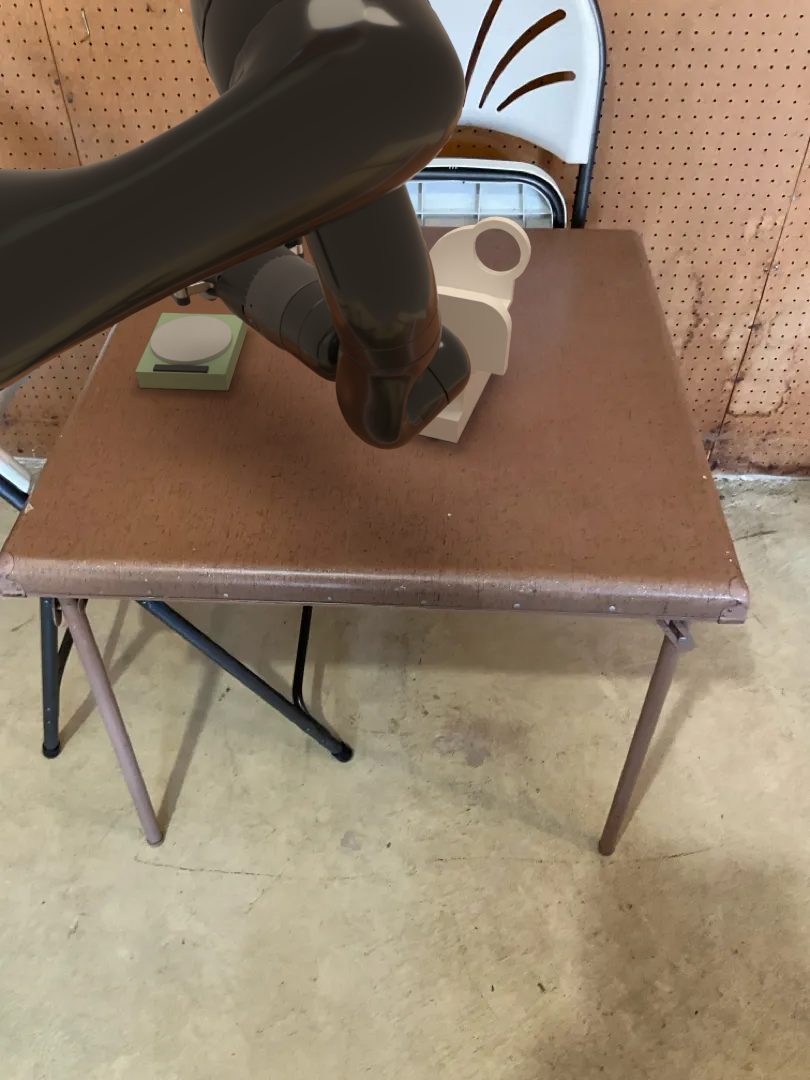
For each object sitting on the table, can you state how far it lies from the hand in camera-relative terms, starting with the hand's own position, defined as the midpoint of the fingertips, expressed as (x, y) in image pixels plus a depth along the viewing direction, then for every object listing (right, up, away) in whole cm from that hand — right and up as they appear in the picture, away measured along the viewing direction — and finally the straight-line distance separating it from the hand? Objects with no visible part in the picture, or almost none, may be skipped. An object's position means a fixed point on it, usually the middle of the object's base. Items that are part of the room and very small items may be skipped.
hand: (188, 230), depth 82 cm
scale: (-3, -9, +16) cm, 18 cm away
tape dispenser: (+27, -15, +10) cm, 33 cm away
